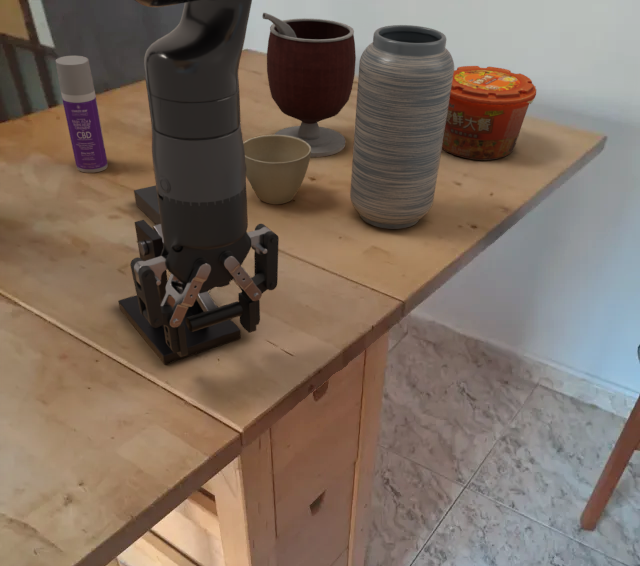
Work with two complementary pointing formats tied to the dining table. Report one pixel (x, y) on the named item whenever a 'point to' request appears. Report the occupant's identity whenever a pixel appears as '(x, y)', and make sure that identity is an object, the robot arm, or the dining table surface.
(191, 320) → the lever
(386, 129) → the vase
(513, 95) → the food container
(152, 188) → the button box
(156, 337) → the bracket
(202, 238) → the robot arm
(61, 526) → the dining table surface
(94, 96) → the container
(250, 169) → the flower pot
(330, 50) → the mate gourd
